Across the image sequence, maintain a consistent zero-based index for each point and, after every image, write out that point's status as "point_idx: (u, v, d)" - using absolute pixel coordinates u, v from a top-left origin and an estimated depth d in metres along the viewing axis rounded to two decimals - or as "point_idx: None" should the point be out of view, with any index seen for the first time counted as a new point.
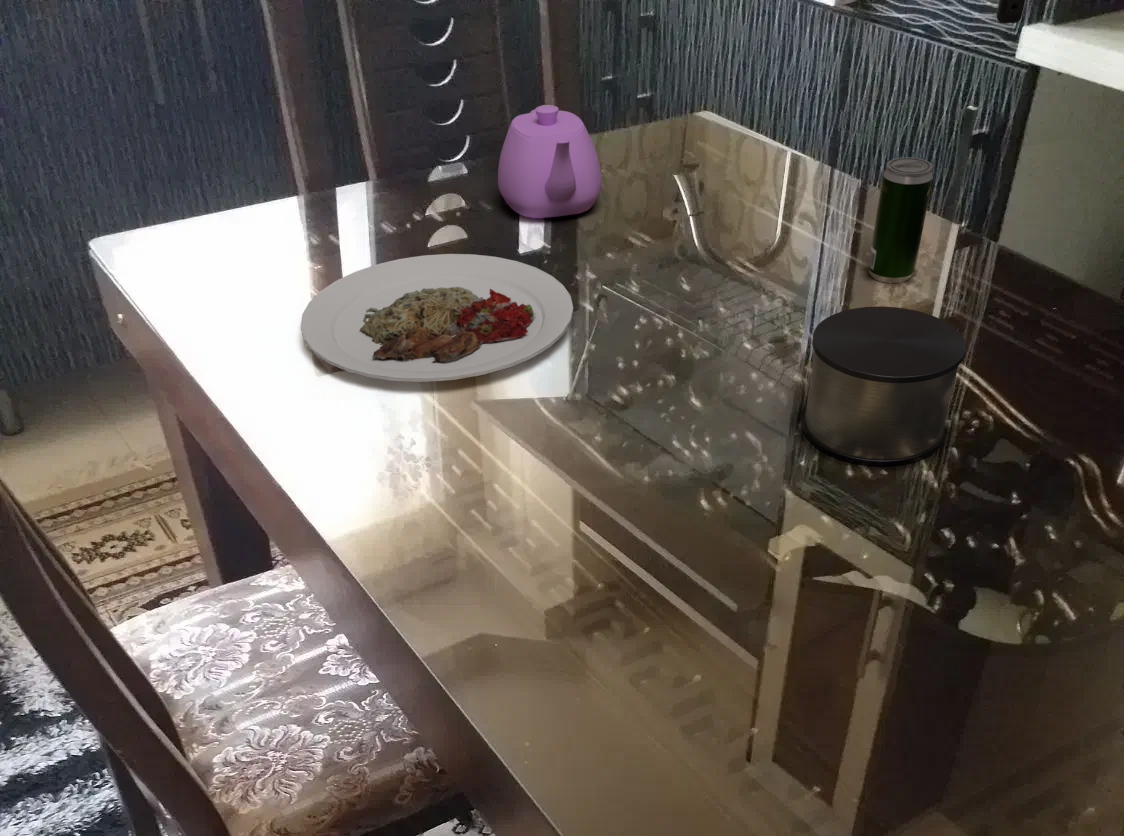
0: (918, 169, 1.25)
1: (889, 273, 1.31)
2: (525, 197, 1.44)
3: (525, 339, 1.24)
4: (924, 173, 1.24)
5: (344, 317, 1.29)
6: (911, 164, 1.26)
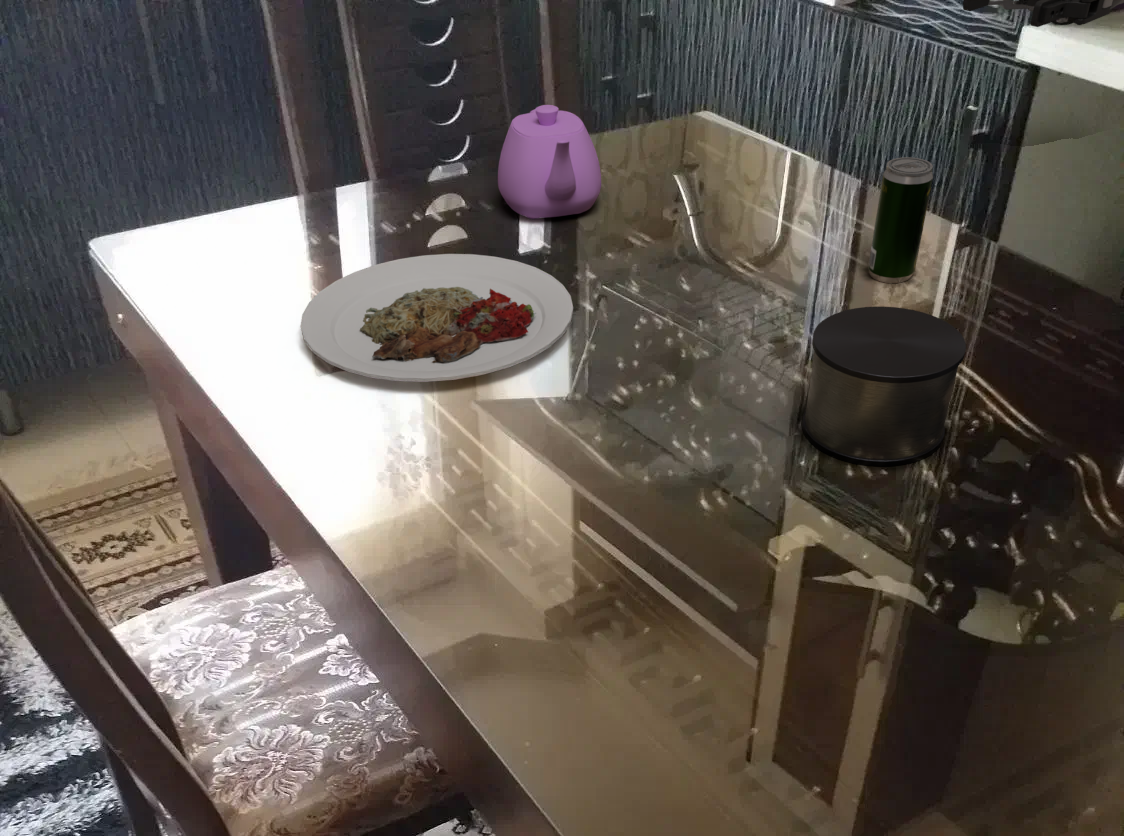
0: (918, 169, 1.25)
1: (889, 273, 1.31)
2: (524, 197, 1.44)
3: (525, 339, 1.24)
4: (924, 173, 1.24)
5: (344, 317, 1.29)
6: (911, 164, 1.26)
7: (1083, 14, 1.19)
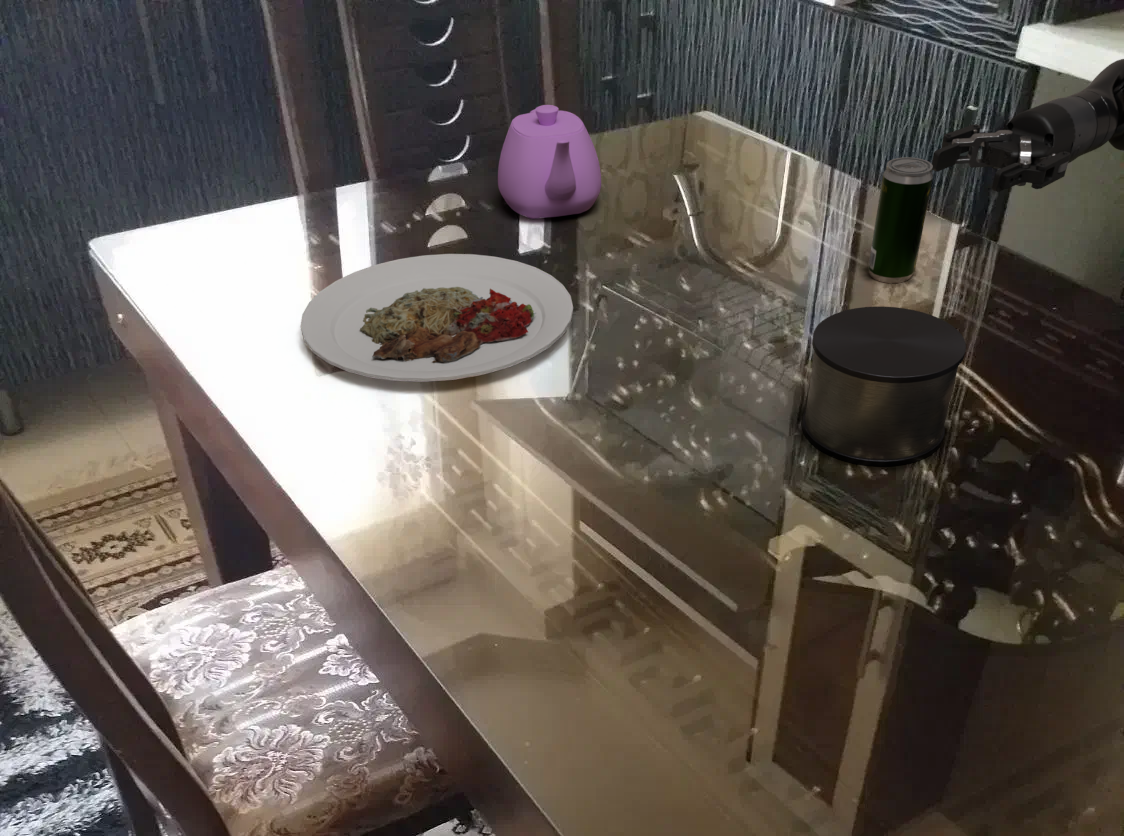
0: (918, 169, 1.25)
1: (889, 273, 1.31)
2: (524, 197, 1.44)
3: (525, 339, 1.24)
4: (924, 173, 1.24)
5: (344, 317, 1.29)
6: (911, 164, 1.26)
7: (1039, 180, 1.31)
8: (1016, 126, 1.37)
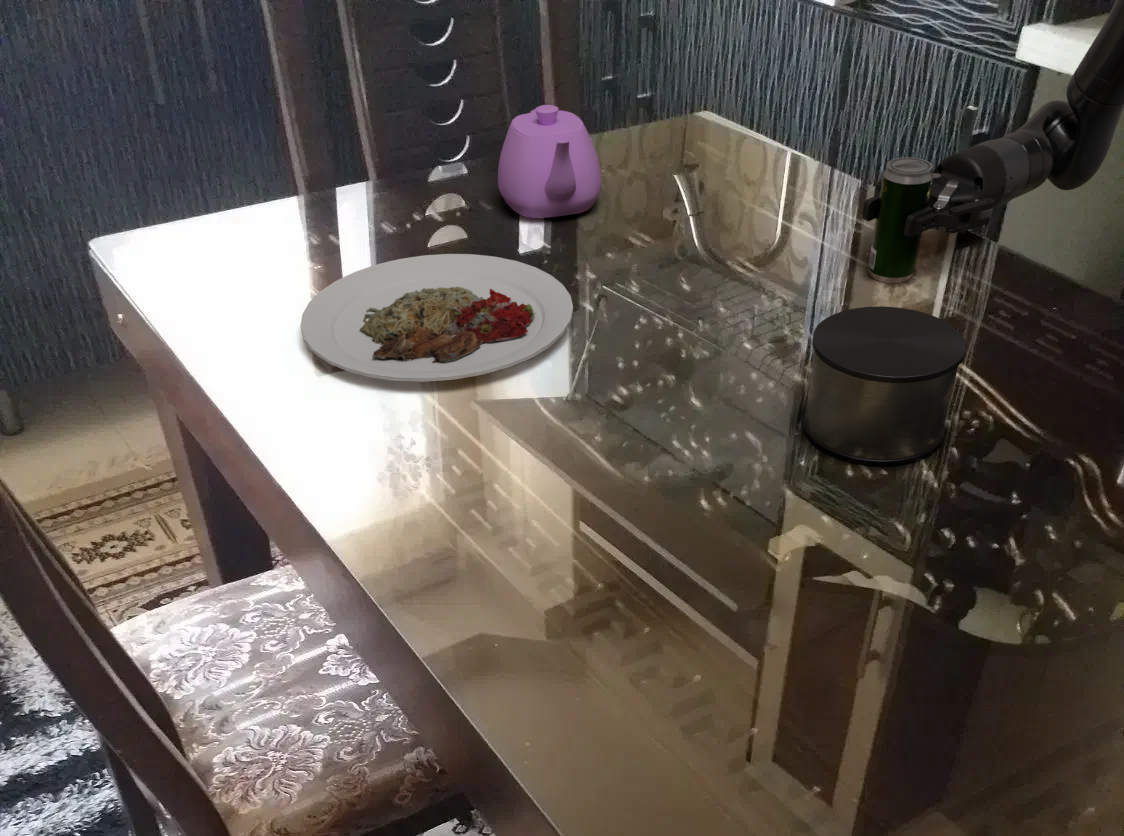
0: (918, 169, 1.24)
1: (889, 273, 1.31)
2: (524, 197, 1.44)
3: (525, 339, 1.24)
4: (924, 173, 1.24)
5: (344, 317, 1.29)
6: (911, 164, 1.26)
7: (953, 225, 1.27)
8: (946, 169, 1.33)
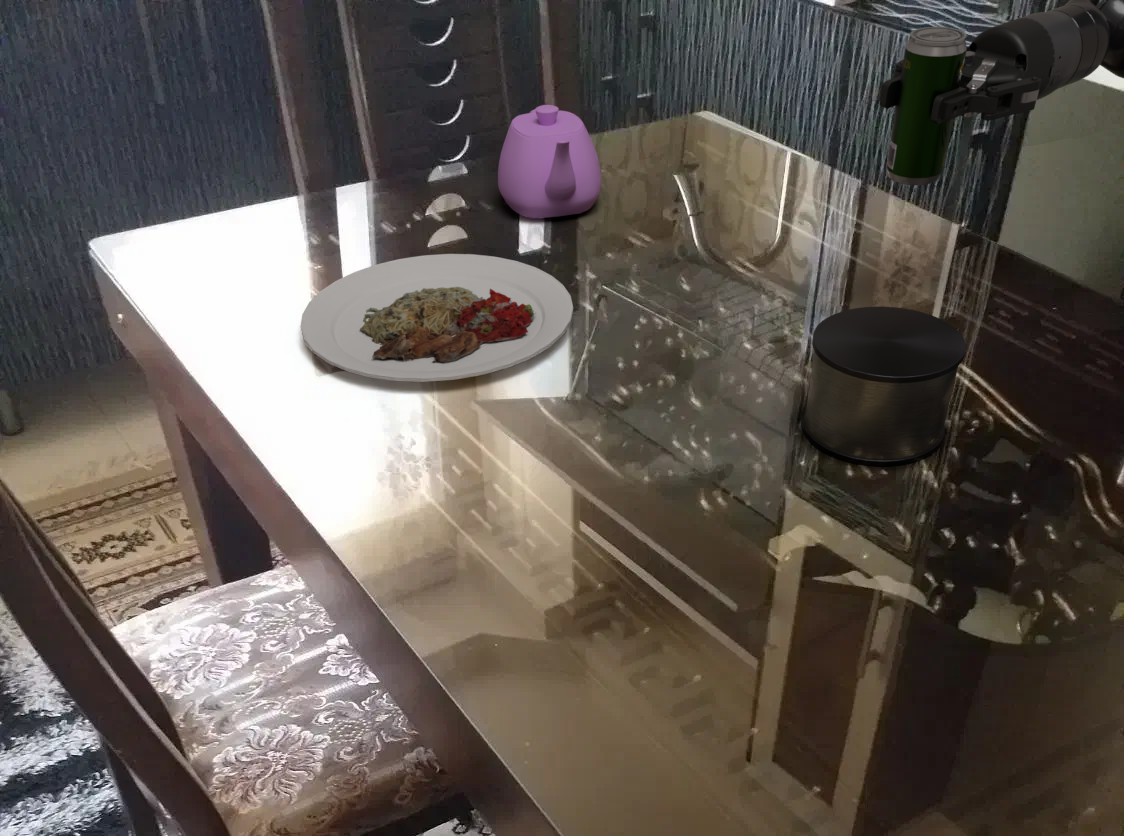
0: (949, 38, 1.02)
1: (912, 172, 1.08)
2: (525, 197, 1.44)
3: (525, 339, 1.24)
4: (956, 42, 1.01)
5: (344, 317, 1.29)
6: (940, 33, 1.03)
7: (991, 109, 1.04)
8: (980, 47, 1.10)
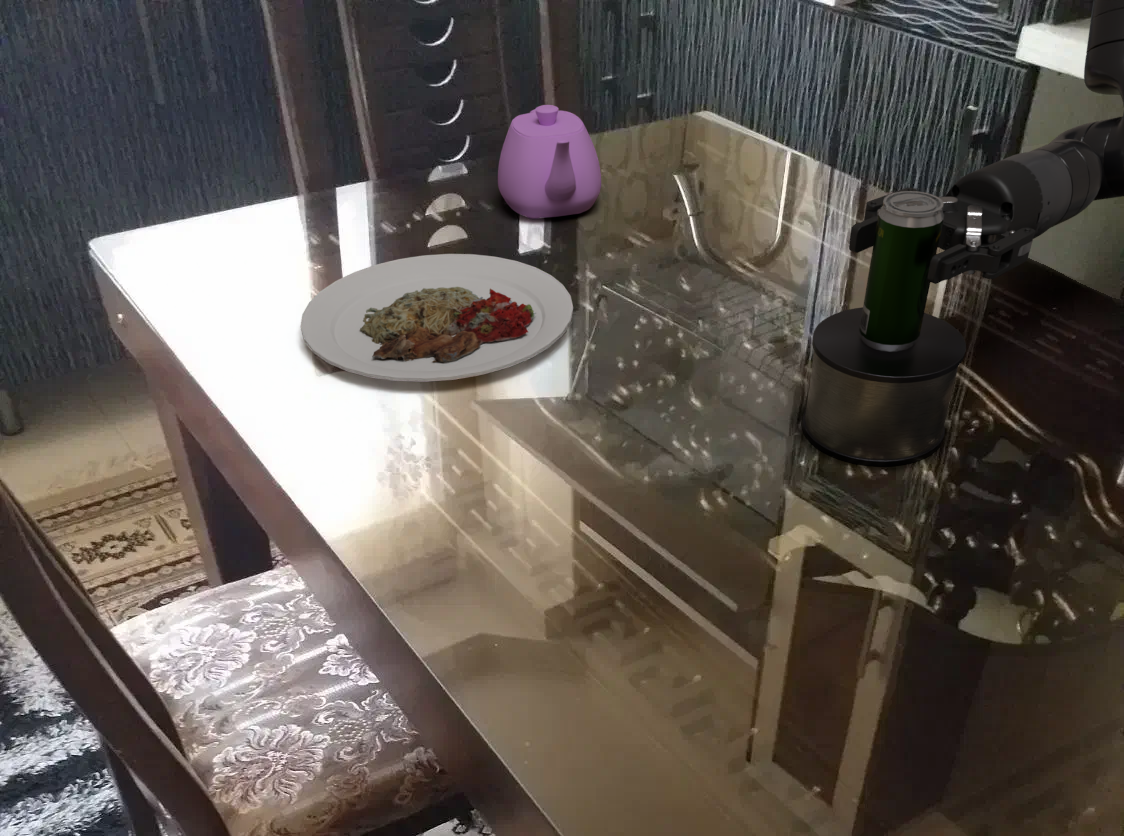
0: (924, 208, 0.95)
1: (886, 339, 1.02)
2: (524, 197, 1.44)
3: (525, 339, 1.24)
4: (932, 213, 0.94)
5: (344, 317, 1.29)
6: (915, 200, 0.96)
7: (993, 268, 0.96)
8: (963, 191, 1.02)
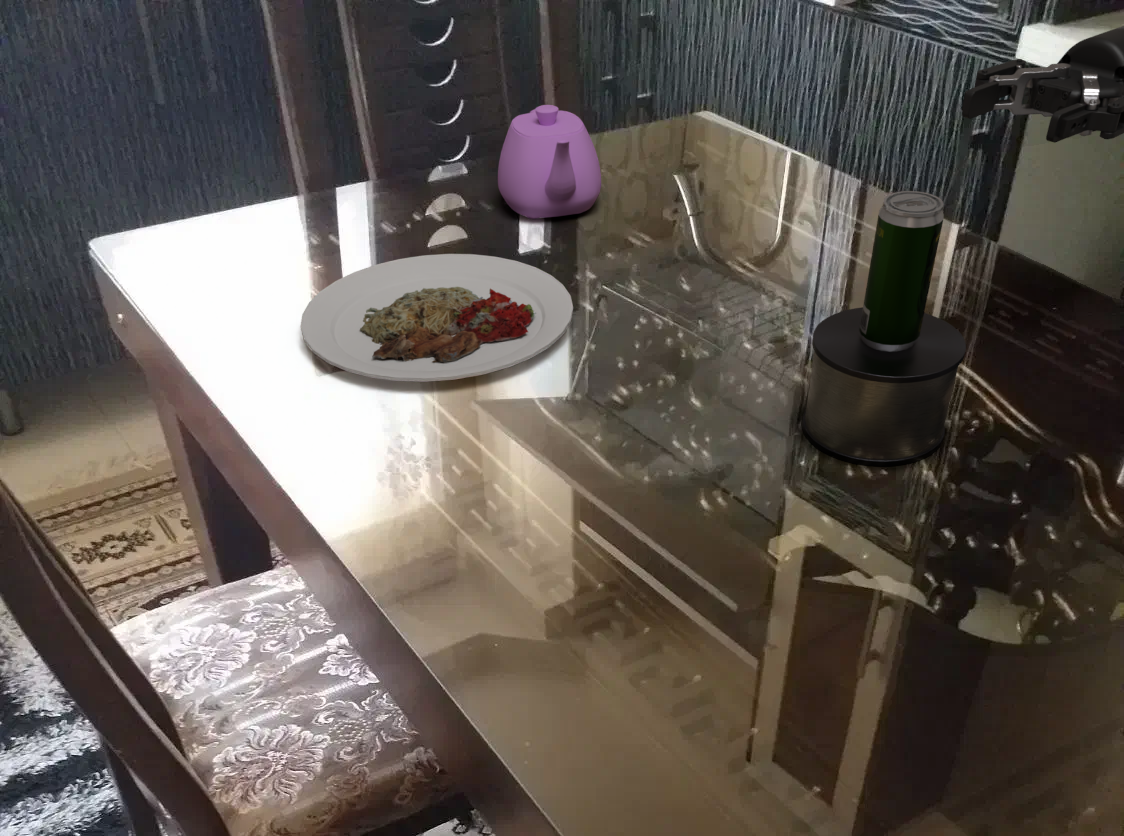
0: (924, 208, 0.95)
1: (886, 339, 1.02)
2: (524, 197, 1.44)
3: (525, 339, 1.24)
4: (932, 213, 0.94)
5: (344, 317, 1.29)
6: (915, 200, 0.96)
7: (1112, 127, 0.96)
8: (1075, 59, 1.02)
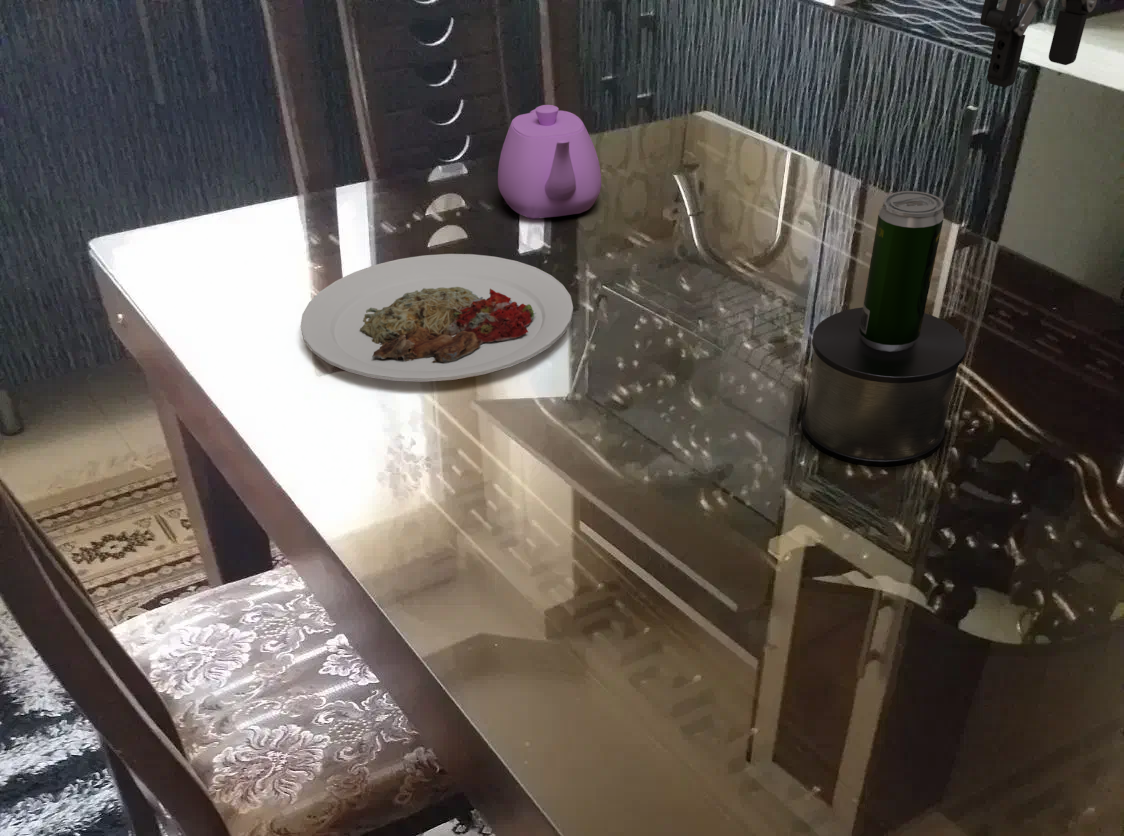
0: (924, 208, 0.95)
1: (886, 339, 1.02)
2: (525, 197, 1.44)
3: (525, 339, 1.24)
4: (932, 213, 0.94)
5: (344, 317, 1.29)
6: (915, 200, 0.96)
7: None
8: None
